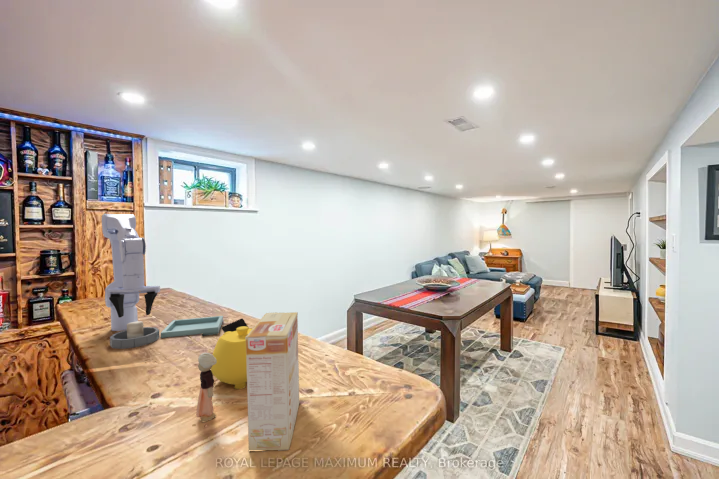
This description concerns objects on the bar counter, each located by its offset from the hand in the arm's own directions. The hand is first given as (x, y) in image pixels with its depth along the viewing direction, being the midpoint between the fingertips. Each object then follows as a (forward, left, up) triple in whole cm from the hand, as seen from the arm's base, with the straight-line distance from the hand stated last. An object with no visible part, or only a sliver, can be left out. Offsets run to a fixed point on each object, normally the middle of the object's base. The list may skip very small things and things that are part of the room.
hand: (134, 315), depth 102 cm
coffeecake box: (+60, +42, -10) cm, 74 cm away
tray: (-9, +16, -9) cm, 21 cm away
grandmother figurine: (+53, +29, -10) cm, 61 cm away
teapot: (+39, +36, -10) cm, 54 cm away
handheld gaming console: (+7, +34, -10) cm, 36 cm away
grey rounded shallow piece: (0, 0, -9) cm, 9 cm away
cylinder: (0, 0, -9) cm, 9 cm away
